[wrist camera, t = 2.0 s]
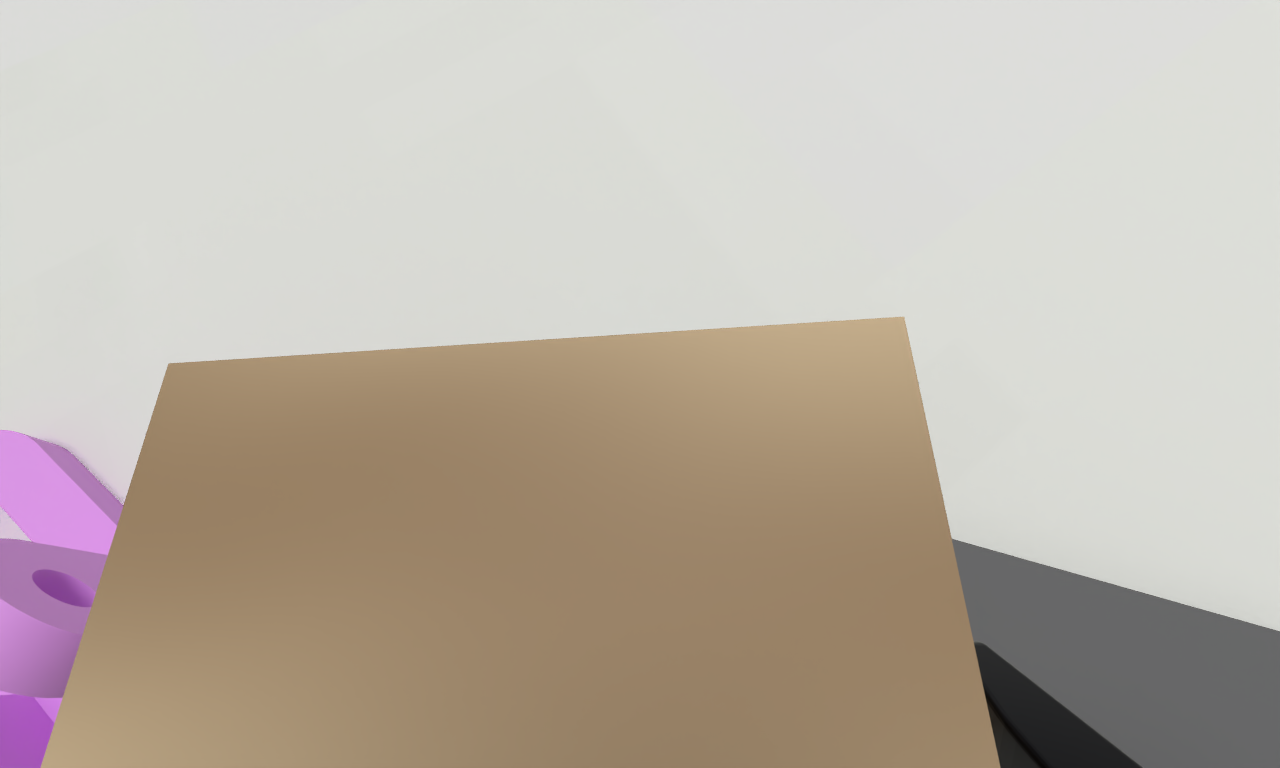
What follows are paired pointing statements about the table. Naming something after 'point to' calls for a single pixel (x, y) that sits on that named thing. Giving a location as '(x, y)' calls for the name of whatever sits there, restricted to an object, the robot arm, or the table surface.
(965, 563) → the charcoal mat
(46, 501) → the bracket
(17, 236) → the table surface
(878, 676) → the wooden block
